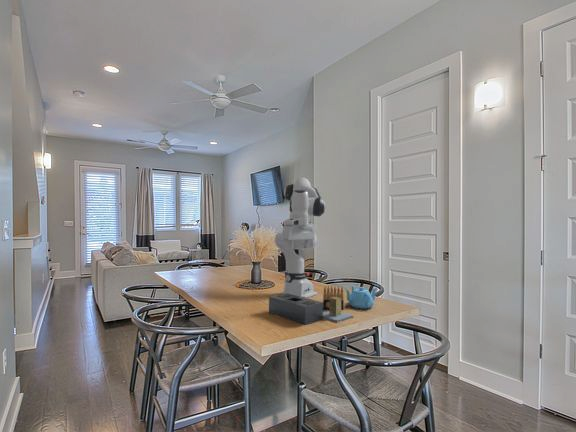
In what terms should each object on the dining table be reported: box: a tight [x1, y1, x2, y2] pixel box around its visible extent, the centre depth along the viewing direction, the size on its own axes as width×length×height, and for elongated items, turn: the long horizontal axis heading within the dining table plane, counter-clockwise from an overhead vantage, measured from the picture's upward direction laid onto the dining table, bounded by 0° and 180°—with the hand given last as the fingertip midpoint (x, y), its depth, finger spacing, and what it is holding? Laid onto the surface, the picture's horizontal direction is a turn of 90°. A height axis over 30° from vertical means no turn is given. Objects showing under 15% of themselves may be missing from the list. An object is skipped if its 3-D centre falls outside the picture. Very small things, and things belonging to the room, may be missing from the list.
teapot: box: [344, 284, 378, 310], centre depth 174 cm, size 15×15×10 cm
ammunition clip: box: [322, 285, 345, 311], centre depth 167 cm, size 11×2×12 cm, turn 91°
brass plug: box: [328, 297, 342, 317], centre depth 153 cm, size 4×4×8 cm
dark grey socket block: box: [268, 293, 324, 326], centre depth 153 cm, size 12×24×8 cm, turn 44°
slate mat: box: [323, 310, 354, 323], centre depth 153 cm, size 12×12×1 cm
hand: (299, 249), depth 163 cm, fingers open, 8 cm apart
